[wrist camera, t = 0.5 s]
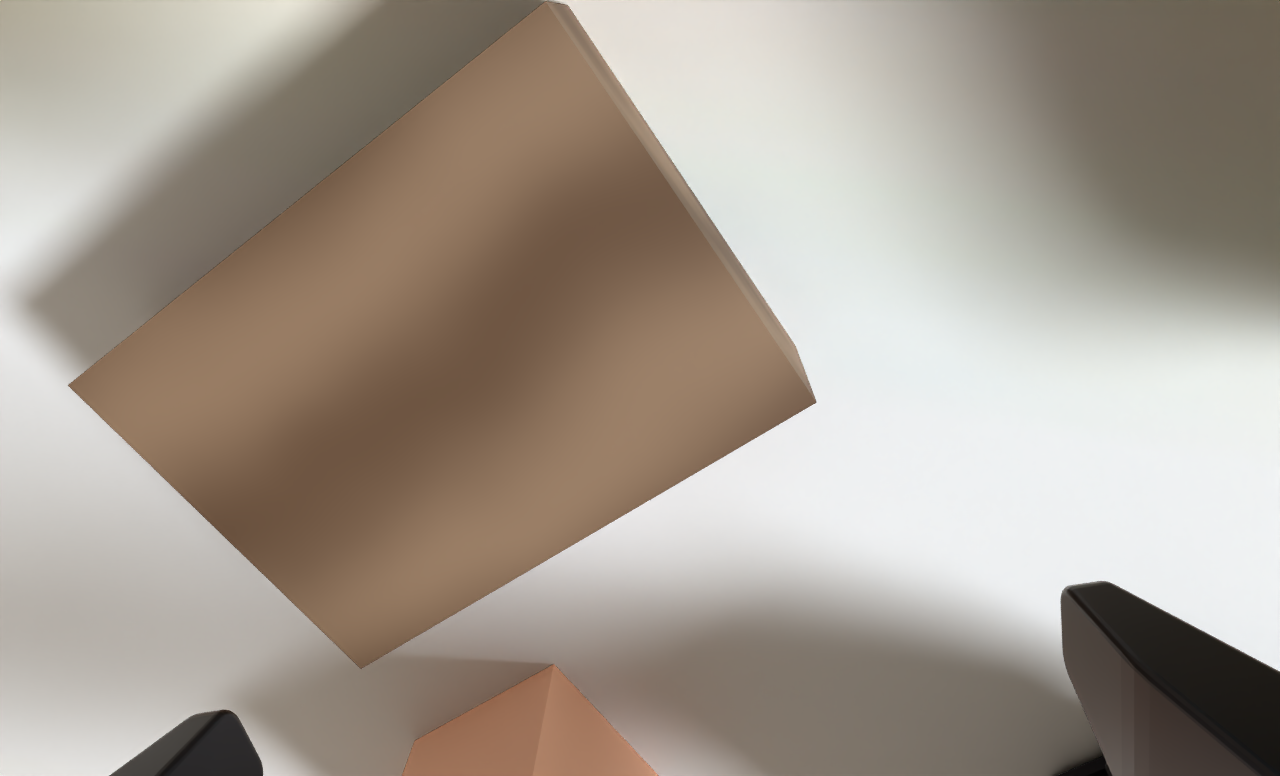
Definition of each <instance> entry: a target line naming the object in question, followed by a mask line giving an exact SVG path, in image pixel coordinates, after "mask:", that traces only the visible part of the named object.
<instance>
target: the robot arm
mask: <svg viewBox="0 0 1280 776" xmlns="http://www.w3.org/2000/svg"><path fill="white" fill-rule="evenodd" d="M1061 623H1062V648H1063V657H1064V662H1065V666H1066V669H1067V672H1068V675H1069V677H1070V680H1071V682H1072V684H1073V687H1074V689H1075V691H1076V694H1077V696H1078V698H1079V700H1080V703H1081V705H1082V707H1083V709H1084V712H1085V714H1086V716H1087V719H1088V721H1089V723H1090V725H1091V728H1092V730H1093V732H1094V734H1095V737H1096V739H1097V741H1098V744H1099V746H1100V748H1101V750H1102V753H1103V755H1104V756H1102V757H1100V758H1098V759H1095V760H1093V761H1091V762H1088V763H1086V764H1083V765H1081V766H1079V767H1076V768H1074V769H1072V770H1069V771H1067V772H1064V773H1062V774H1060V775H1058V776H1280V671H1278V670H1276V669H1274V668H1272V667H1270V666H1268V665H1266V664H1264V663H1263V662H1261V661H1259V660H1257V659H1255V658H1253V657H1251V656H1249V655H1247V654H1245V653H1244V652H1242V651H1240V650H1238V649H1236V648H1234V647H1232V646H1230V645H1228V644H1226V643H1225V642H1223V641H1221V640H1219V639H1217V638H1215V637H1213V636H1211V635H1209V634H1207V633H1206V632H1204V631H1202V630H1200V629H1198V628H1196V627H1194V626H1192V625H1190V624H1189V623H1187V622H1185V621H1183V620H1181V619H1179V618H1177V617H1175V616H1173V615H1171V614H1170V613H1168V612H1166V611H1164V610H1162V609H1160V608H1158V607H1156V606H1154V605H1152V604H1151V603H1149V602H1147V601H1145V600H1143V599H1141V598H1139V597H1137V596H1135V595H1133V594H1132V593H1130V592H1128V591H1126V590H1124V589H1122V588H1120V587H1118V586H1116V585H1114V584H1112V583H1110V582H1106V581H1097V582H1090V583H1083V584H1076V585H1070V586H1067V587H1066V588H1065V589H1064V590H1063V591H1062V594H1061ZM110 776H263V767H262V762H261V760H260V758H259V756H258V754H257V752H256V750H255V748H254V746H253V744H252V742H251V741H250V739H249V737H248V735H247V733H246V731H245V729H244V727H243V725H242V724H241V722H240V720H239V718H238V717H237V715H236V714H234V713H233V712H231V711H229V710H218V711H211V712H205V713H199V714H195V715H193V716H191V717H189V718H188V719H186V720H185V721H183V722H182V723H181V724H179V725H178V726H177V727H175V728H174V729H173V730H171V731H170V732H168V733H167V734H166V735H164V736H163V737H162V738H160V739H159V740H158V741H156V742H155V743H153V744H152V745H151V746H149V747H148V748H147V749H145V750H144V751H143V752H141V753H140V754H138V755H137V756H136V757H134V758H133V759H132V760H130V761H129V762H127V763H126V764H125V765H123V766H122V767H121V768H119V769H118V770H117V771H115V772H114V773H112V774H111V775H110Z"/></svg>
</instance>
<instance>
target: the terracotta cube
mask: <svg viewBox="0 0 1280 776" xmlns="http://www.w3.org/2000/svg"><path fill="white" fill-rule="evenodd" d="M402 776H658V774H657V773H656V772H655V771H654V770H653V769H652V768H651V767H650V766H649V765H648V764H647V763H646V762H645V761H644V760H643V758H642V757H641V756H640V755H639V754H638V753H637V752H636V751H635V750H634V749H633V748H632V747H631V746H630V745H629V744H628V742H627V741H626V740H625V739H624V738H623V737H622V736H621V735H620V734H619V733H618V732H617V731H616V730H615V729H614V728H613V726H612V725H611V724H610V723H609V722H608V721H607V720H606V719H605V718H604V717H603V716H602V715H601V714H600V713H599V712H598V710H597V709H596V708H595V707H594V706H593V705H592V704H591V703H590V702H589V701H588V700H587V699H586V698H585V697H584V696H583V694H582V693H581V692H580V691H579V690H578V689H577V688H576V687H575V686H574V685H573V684H572V683H571V682H570V681H569V680H568V678H567V677H566V676H565V675H564V674H563V673H562V672H561V671H560V670H559V669H558V668H557V667H556V666H555V665H554V664H553V665H551V666H549V667H548V668H546V669H544V670H542V671H540V672H539V673H537V674H535V675H533V676H531V677H530V678H528V679H526V680H524V681H522V682H520V683H519V684H517V685H515V686H513V687H511V688H510V689H508V690H506V691H504V692H502V693H500V694H499V695H497V696H495V697H493V698H491V699H490V700H488V701H486V702H484V703H482V704H480V705H479V706H477V707H475V708H473V709H471V710H470V711H468V712H466V713H464V714H462V715H460V716H459V717H457V718H455V719H453V720H451V721H450V722H448V723H446V724H444V725H442V726H440V727H439V728H437V729H435V730H433V731H431V732H430V733H428V734H426V735H424V736H422V737H421V738H419V739H417V740H415V741H414V744H413V747H412V749H411V752H410V755H409V758H408V760H407V763H406V766H405V769H404V771H403V774H402Z"/></svg>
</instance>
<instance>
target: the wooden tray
mask: <svg viewBox="0 0 1280 776" xmlns="http://www.w3.org/2000/svg"><path fill="white" fill-rule="evenodd" d="M68 386H69V387H70V388H71V389H72V390H73V391H74V392H75V393H76V394H77V395H78V396H79V397H80V398H81V399H82V400H83V401H85V402H86V403H87V404H88V405H89V406H90V407H91V408H92V409H93V410H94V411H95V412H96V413H97V414H98V415H99V416H100V417H101V418H102V419H103V420H104V421H105V422H106V423H107V424H108V425H109V426H110V427H111V428H112V429H113V430H114V431H116V432H117V433H118V434H119V435H120V436H121V437H122V438H123V439H124V440H125V441H126V442H127V443H128V444H129V445H130V446H131V447H132V448H133V449H134V450H135V451H136V452H137V453H138V454H139V455H140V456H141V457H142V458H143V459H144V460H145V461H147V462H148V463H149V464H150V465H151V466H152V467H153V468H154V469H155V470H156V471H157V472H158V473H159V474H160V475H161V476H162V477H163V478H164V479H165V480H166V481H167V482H168V483H169V484H170V485H171V486H172V487H173V488H174V489H175V490H176V491H178V492H179V493H180V494H181V495H182V496H183V497H184V498H185V499H186V500H187V501H188V502H189V503H190V504H191V505H192V506H193V507H194V508H195V509H196V510H197V511H198V512H199V513H200V514H201V515H202V516H203V517H204V518H205V519H206V520H207V521H209V522H210V523H211V524H212V525H213V526H214V527H215V528H216V529H217V530H218V531H219V532H220V533H221V534H222V535H223V536H224V537H225V538H226V539H227V540H228V541H229V542H230V543H231V544H232V545H233V546H234V547H235V548H236V549H237V550H238V551H240V552H241V553H242V554H243V555H244V556H245V557H246V558H247V559H248V560H249V561H250V562H251V563H252V564H253V565H254V566H255V567H256V568H257V569H258V570H259V571H260V572H261V573H262V574H263V575H264V576H265V577H266V578H267V579H268V580H269V581H271V582H272V583H273V584H274V585H275V586H276V587H277V588H278V589H279V590H280V591H281V592H282V593H283V594H284V595H285V596H286V597H287V598H288V599H289V600H290V601H291V602H292V603H293V604H294V605H295V606H296V607H297V608H298V609H299V610H301V611H302V612H303V613H304V614H305V615H306V616H307V617H308V618H309V619H310V620H311V621H312V622H313V623H314V624H315V625H316V626H317V627H318V628H319V629H320V630H321V631H322V632H323V633H324V634H325V635H326V636H327V637H328V638H329V639H330V640H332V641H333V642H334V643H335V644H336V645H337V646H338V647H339V648H340V649H341V650H342V651H343V652H344V653H345V654H346V655H347V656H348V657H349V658H350V659H351V660H352V661H353V662H354V663H355V664H356V665H357V666H358V667H359V668H360V669H362V668H363V667H365V666H367V665H368V664H370V663H372V662H374V661H375V660H377V659H379V658H380V657H382V656H384V655H385V654H387V653H389V652H391V651H392V650H394V649H396V648H397V647H399V646H401V645H403V644H404V643H406V642H408V641H409V640H411V639H413V638H415V637H416V636H418V635H420V634H421V633H423V632H425V631H427V630H428V629H430V628H432V627H433V626H435V625H437V624H438V623H440V622H442V621H444V620H445V619H447V618H449V617H450V616H452V615H454V614H456V613H457V612H459V611H461V610H462V609H464V608H466V607H468V606H469V605H471V604H473V603H474V602H476V601H478V600H480V599H481V598H483V597H485V596H486V595H488V594H490V593H492V592H493V591H495V590H497V589H498V588H500V587H502V586H503V585H505V584H507V583H509V582H510V581H512V580H514V579H515V578H517V577H519V576H521V575H522V574H524V573H526V572H527V571H529V570H531V569H533V568H534V567H536V566H538V565H539V564H541V563H543V562H545V561H546V560H548V559H550V558H551V557H553V556H555V555H556V554H558V553H560V552H562V551H563V550H565V549H567V548H568V547H570V546H572V545H574V544H575V543H577V542H579V541H580V540H582V539H584V538H586V537H587V536H589V535H591V534H592V533H594V532H596V531H598V530H599V529H601V528H603V527H604V526H606V525H608V524H609V523H611V522H613V521H615V520H616V519H618V518H620V517H621V516H623V515H625V514H627V513H628V512H630V511H632V510H633V509H635V508H637V507H639V506H640V505H642V504H644V503H645V502H647V501H649V500H651V499H652V498H654V497H656V496H657V495H659V494H661V493H663V492H664V491H666V490H668V489H669V488H671V487H673V486H674V485H676V484H678V483H680V482H681V481H683V480H685V479H686V478H688V477H690V476H692V475H693V474H695V473H697V472H698V471H700V470H702V469H704V468H705V467H707V466H709V465H710V464H712V463H714V462H716V461H717V460H719V459H721V458H722V457H724V456H726V455H727V454H729V453H731V452H733V451H734V450H736V449H738V448H739V447H741V446H743V445H745V444H746V443H748V442H750V441H751V440H753V439H755V438H757V437H758V436H760V435H762V434H763V433H765V432H767V431H769V430H770V429H772V428H774V427H775V426H777V425H779V424H780V423H782V422H784V421H786V420H787V419H789V418H791V417H792V416H794V415H796V414H798V413H799V412H801V411H803V410H804V409H806V408H808V407H810V406H811V405H813V404H815V403H816V399H815V397H814V394H813V391H812V389H811V386H810V383H809V381H808V378H807V375H806V373H805V370H804V367H803V365H802V362H801V359H800V357H799V354H798V351H797V349H796V346H795V344H794V343H793V341H792V340H791V338H790V337H789V335H788V334H787V332H786V331H785V330H784V328H783V327H782V325H781V324H780V322H779V321H778V319H777V318H776V316H775V315H774V313H773V312H772V310H771V309H770V307H769V306H768V304H767V303H766V301H765V300H764V298H763V297H762V295H761V294H760V292H759V291H758V289H757V288H756V286H755V285H754V283H753V282H752V280H751V279H750V277H749V276H748V274H747V273H746V271H745V270H744V268H743V267H742V265H741V264H740V262H739V261H738V259H737V258H736V256H735V255H734V253H733V252H732V250H731V249H730V247H729V246H728V244H727V243H726V241H725V240H724V238H723V237H722V235H721V234H720V232H719V231H718V229H717V228H716V226H715V225H714V223H713V222H712V220H711V219H710V217H709V216H708V214H707V213H706V211H705V210H704V208H703V207H702V205H701V204H700V202H699V201H698V199H697V198H696V196H695V195H694V193H693V192H692V190H691V189H690V187H689V186H688V184H687V183H686V181H685V180H684V178H683V177H682V175H681V174H680V172H679V171H678V169H677V168H676V166H675V165H674V163H673V162H672V160H671V159H670V157H669V156H668V154H667V153H666V151H665V150H664V148H663V147H662V145H661V144H660V142H659V141H658V139H657V138H656V136H655V135H654V133H653V132H652V130H651V129H650V127H649V126H648V124H647V123H646V121H645V120H644V119H643V117H642V116H641V114H640V113H639V111H638V110H637V108H636V107H635V105H634V104H633V102H632V101H631V99H630V98H629V96H628V95H627V93H626V92H625V90H624V89H623V87H622V86H621V84H620V83H619V81H618V80H617V78H616V77H615V75H614V74H613V72H612V71H611V69H610V68H609V66H608V65H607V63H606V62H605V60H604V59H603V57H602V56H601V54H600V53H599V51H598V50H597V48H596V47H595V45H594V44H593V42H592V41H591V39H590V38H589V36H588V35H587V33H586V32H585V30H584V29H583V27H582V26H581V24H580V23H579V21H578V20H577V18H576V17H575V15H574V14H573V12H572V11H571V9H570V8H569V6H568V5H564V4H558V3H552V2H547V1H545V2H544V3H543V4H541V5H540V6H539V7H538V8H536V9H535V10H534V11H533V12H531V13H530V14H529V15H528V16H526V17H525V18H524V19H523V20H522V21H520V22H519V23H518V24H517V25H515V26H514V27H513V28H512V29H510V30H509V31H508V32H507V33H505V34H504V35H503V36H502V37H500V38H499V39H498V40H497V41H495V42H494V43H493V44H492V45H490V46H489V47H488V48H487V49H485V50H484V51H483V52H482V53H480V54H479V55H478V56H477V57H476V58H474V59H473V60H472V61H471V62H469V63H468V64H467V65H466V66H464V67H463V68H462V69H461V70H459V71H458V72H457V73H456V74H454V75H453V76H452V77H451V78H449V79H448V80H447V81H446V82H444V83H443V84H442V85H441V86H439V87H438V88H437V89H436V90H434V91H433V92H432V93H431V94H430V95H428V96H427V97H426V98H425V99H423V100H422V101H421V102H420V103H418V104H417V105H416V106H415V107H413V108H412V109H411V110H410V111H408V112H407V113H406V114H405V115H403V116H402V117H401V118H400V119H398V120H397V121H396V122H395V123H393V124H392V125H391V126H390V127H388V128H387V129H386V130H385V131H384V132H382V133H381V134H380V135H379V136H377V137H376V138H375V139H374V140H372V141H371V142H370V143H369V144H367V145H366V146H365V147H364V148H362V149H361V150H360V151H359V152H357V153H356V154H355V155H354V156H352V157H351V158H350V159H349V160H347V161H346V162H345V163H344V164H342V165H341V166H340V167H339V168H338V169H336V170H335V171H334V172H333V173H331V174H330V175H329V176H328V177H326V178H325V179H324V180H323V181H321V182H320V183H319V184H318V185H316V186H315V187H314V188H313V189H311V190H310V191H309V192H308V193H306V194H305V195H304V196H303V197H301V198H300V199H299V200H298V201H296V202H295V203H294V204H293V205H292V206H290V207H289V208H288V209H287V210H285V211H284V212H283V213H282V214H280V215H279V216H278V217H277V218H275V219H274V220H273V221H272V222H270V223H269V224H268V225H267V226H265V227H264V228H263V229H262V230H260V231H259V232H258V233H257V234H255V235H254V236H253V237H252V238H250V239H249V240H248V241H247V242H246V243H244V244H243V245H242V246H241V247H239V248H238V249H237V250H236V251H234V252H233V253H232V254H231V255H229V256H228V257H227V258H226V259H224V260H223V261H222V262H221V263H219V264H218V265H217V266H216V267H214V268H213V269H212V270H211V271H209V272H208V273H207V274H206V275H204V276H203V277H202V278H201V279H200V280H198V281H197V282H196V283H195V284H193V285H192V286H191V287H190V288H188V289H187V290H186V291H185V292H183V293H182V294H181V295H180V296H178V297H177V298H176V299H175V300H173V301H172V302H171V303H170V304H168V305H167V306H166V307H165V308H163V309H162V310H161V311H160V312H158V313H157V314H156V315H155V316H154V317H152V318H151V319H150V320H149V321H147V322H146V323H145V324H144V325H142V326H141V327H140V328H139V329H137V330H136V331H135V332H134V333H132V334H131V335H130V336H129V337H127V338H126V339H125V340H124V341H122V342H121V343H120V344H119V345H117V346H116V347H115V348H114V349H112V350H111V351H110V352H109V353H108V354H106V355H105V356H104V357H103V358H101V359H100V360H99V361H98V362H96V363H95V364H94V365H93V366H91V367H90V368H89V369H88V370H86V371H85V372H84V373H83V374H81V375H80V376H79V377H78V378H76V379H75V380H74V381H73V382H71V383H70V384H69V385H68Z"/></svg>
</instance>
